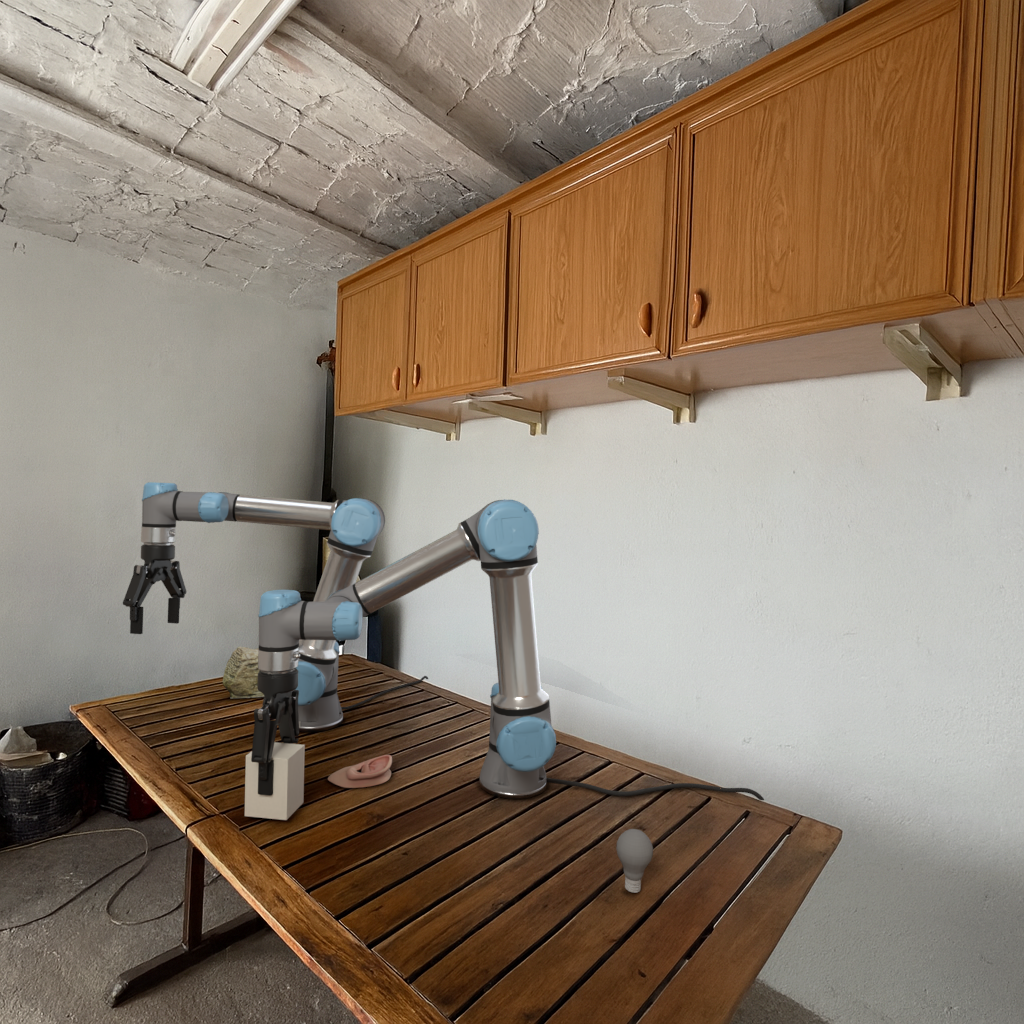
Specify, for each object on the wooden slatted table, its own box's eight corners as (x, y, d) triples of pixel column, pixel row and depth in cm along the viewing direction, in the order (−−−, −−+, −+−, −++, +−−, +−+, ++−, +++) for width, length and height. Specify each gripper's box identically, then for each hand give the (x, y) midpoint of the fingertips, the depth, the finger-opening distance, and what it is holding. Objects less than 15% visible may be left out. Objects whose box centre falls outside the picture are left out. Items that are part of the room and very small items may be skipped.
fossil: (218, 695, 195) (220, 647, 195) (278, 685, 208) (279, 640, 207) (228, 703, 189) (230, 653, 188) (289, 692, 201) (290, 645, 201)
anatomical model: (321, 766, 139) (345, 747, 150) (320, 784, 139) (344, 763, 150) (378, 774, 136) (398, 753, 147) (377, 792, 136) (397, 770, 148)
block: (244, 816, 122) (245, 755, 122) (263, 798, 129) (264, 741, 129) (286, 820, 121) (287, 759, 121) (303, 802, 128) (304, 744, 128)
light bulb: (610, 879, 108) (613, 822, 108) (644, 879, 109) (647, 822, 109) (619, 902, 102) (622, 840, 102) (655, 901, 103) (658, 840, 103)
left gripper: (136, 548, 146) (133, 639, 146) (202, 541, 171) (199, 620, 171) (107, 546, 147) (104, 637, 147) (176, 540, 172) (174, 618, 172)
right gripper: (270, 685, 114) (267, 811, 114) (318, 658, 134) (315, 765, 134) (231, 682, 115) (228, 807, 115) (284, 655, 135) (282, 762, 135)
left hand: (155, 628), depth 159 cm, fingers open, 13 cm apart
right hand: (275, 784), depth 125 cm, fingers closed on block, 7 cm apart
